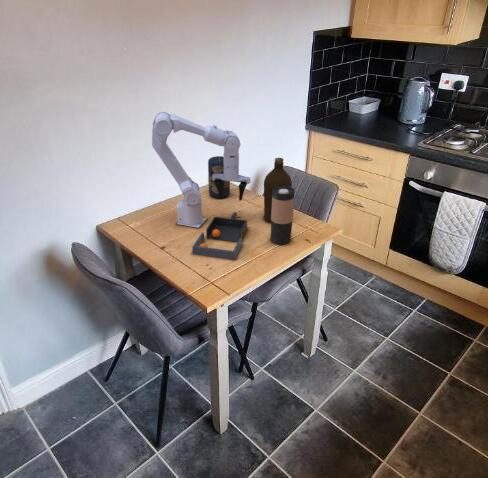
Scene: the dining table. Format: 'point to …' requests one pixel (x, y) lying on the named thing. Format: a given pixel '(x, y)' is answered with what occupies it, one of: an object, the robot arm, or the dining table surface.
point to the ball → (216, 233)
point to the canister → (217, 168)
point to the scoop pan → (227, 228)
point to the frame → (215, 252)
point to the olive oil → (274, 185)
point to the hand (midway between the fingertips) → (231, 198)
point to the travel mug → (282, 214)
